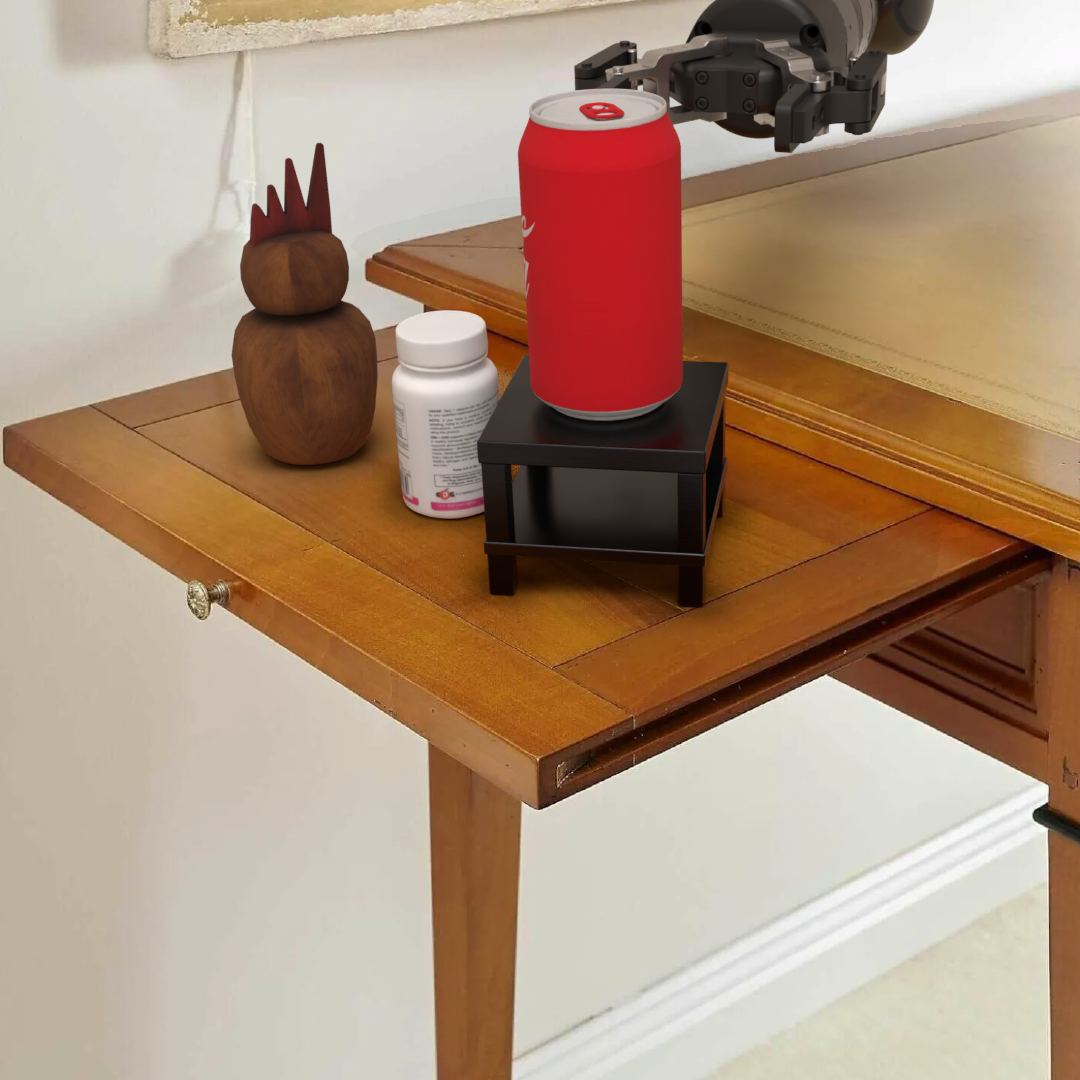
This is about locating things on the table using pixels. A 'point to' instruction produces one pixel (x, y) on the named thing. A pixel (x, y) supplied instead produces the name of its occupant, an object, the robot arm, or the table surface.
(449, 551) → the table surface
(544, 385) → the beverage can
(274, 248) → the wooden figurine
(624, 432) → the side table
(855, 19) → the robot arm
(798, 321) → the table surface
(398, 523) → the table surface
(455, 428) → the pill bottle
